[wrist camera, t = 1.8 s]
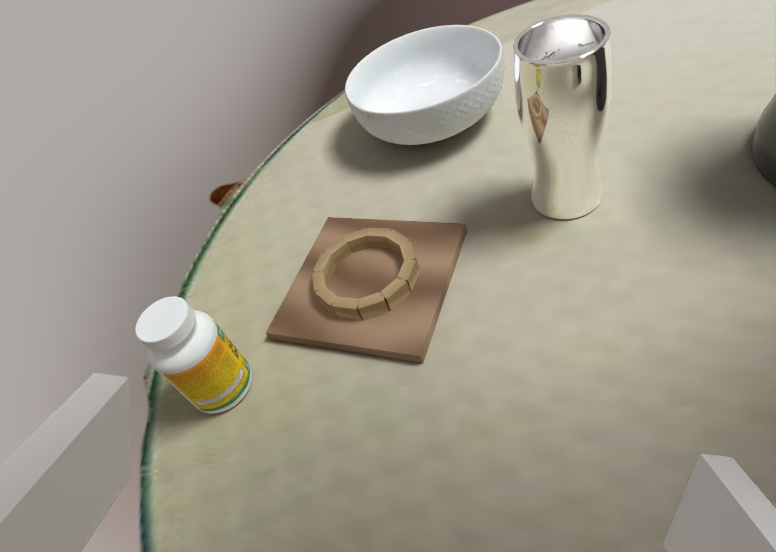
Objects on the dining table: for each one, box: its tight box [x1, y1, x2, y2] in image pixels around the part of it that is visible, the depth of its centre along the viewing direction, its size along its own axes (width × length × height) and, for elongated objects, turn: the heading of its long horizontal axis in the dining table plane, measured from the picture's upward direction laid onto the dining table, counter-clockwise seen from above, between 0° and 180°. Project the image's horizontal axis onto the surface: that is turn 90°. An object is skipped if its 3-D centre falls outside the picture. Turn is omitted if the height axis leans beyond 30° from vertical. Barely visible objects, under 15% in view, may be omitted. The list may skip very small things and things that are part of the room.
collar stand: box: [266, 217, 467, 363], centre depth 48 cm, size 14×14×2 cm
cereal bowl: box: [345, 25, 504, 145], centre depth 61 cm, size 17×17×7 cm
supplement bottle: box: [135, 297, 252, 414], centre depth 43 cm, size 5×5×10 cm
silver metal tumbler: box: [513, 15, 612, 220], centre depth 45 cm, size 7×7×15 cm
